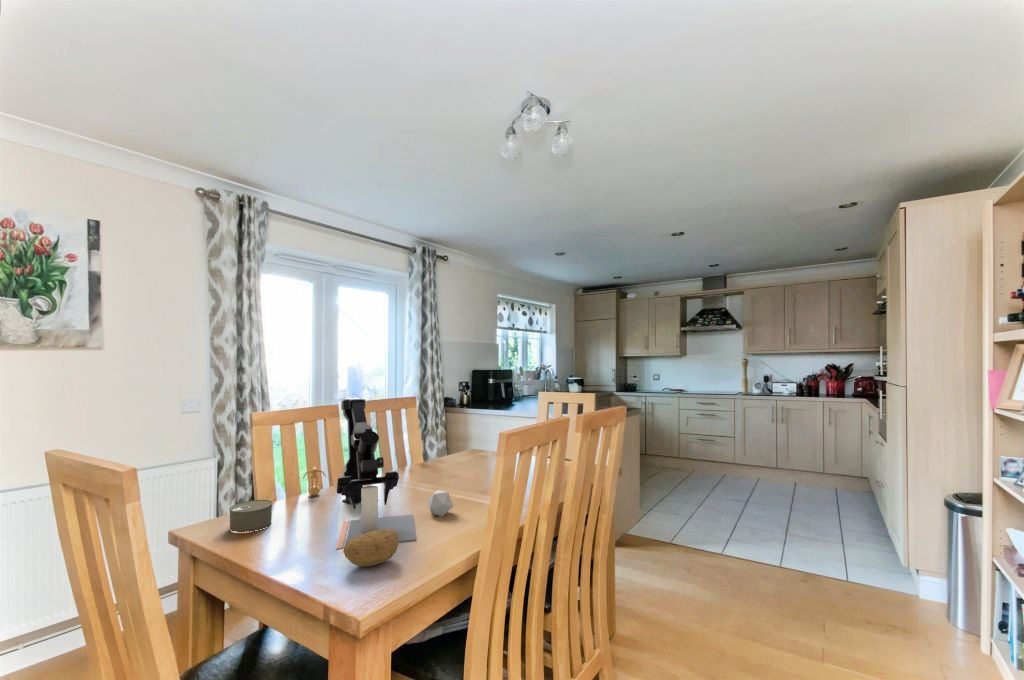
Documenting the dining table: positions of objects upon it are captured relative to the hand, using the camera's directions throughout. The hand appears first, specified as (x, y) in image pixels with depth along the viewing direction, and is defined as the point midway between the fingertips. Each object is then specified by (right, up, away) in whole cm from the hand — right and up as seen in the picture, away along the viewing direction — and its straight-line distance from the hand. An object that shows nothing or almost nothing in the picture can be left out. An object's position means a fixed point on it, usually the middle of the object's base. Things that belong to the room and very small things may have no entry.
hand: (370, 506), depth 138 cm
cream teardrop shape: (-1, -8, +1) cm, 8 cm away
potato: (+7, -7, -21) cm, 24 cm away
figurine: (-34, -10, +37) cm, 51 cm away
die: (+19, -9, +17) cm, 27 cm away
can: (-40, -9, +5) cm, 41 cm away
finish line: (-8, -8, -1) cm, 12 cm away
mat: (+3, -8, +2) cm, 9 cm away
